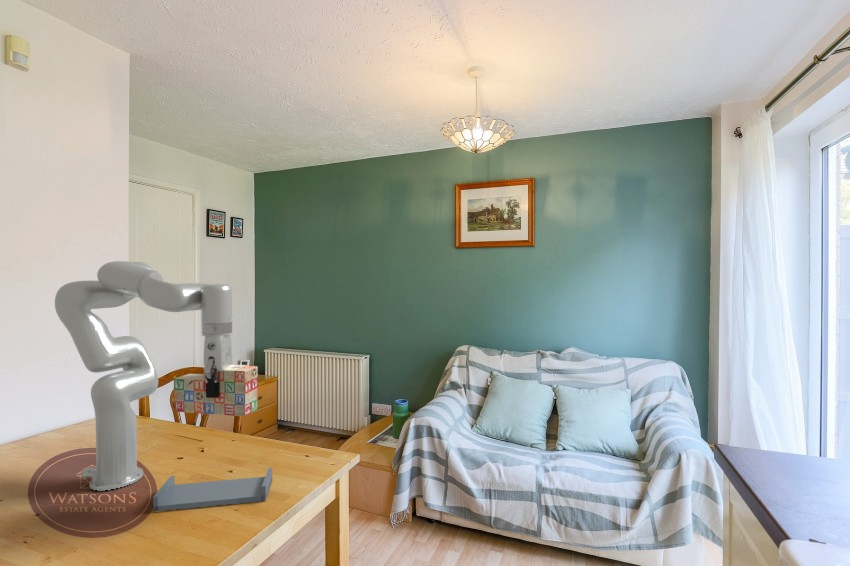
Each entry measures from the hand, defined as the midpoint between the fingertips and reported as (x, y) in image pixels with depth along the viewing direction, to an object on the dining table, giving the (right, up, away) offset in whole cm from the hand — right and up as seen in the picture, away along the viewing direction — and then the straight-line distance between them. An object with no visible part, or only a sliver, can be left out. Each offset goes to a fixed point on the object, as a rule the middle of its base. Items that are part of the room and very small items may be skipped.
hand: (217, 392), depth 114 cm
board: (0, -28, -1) cm, 28 cm away
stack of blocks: (0, -5, 0) cm, 5 cm away
